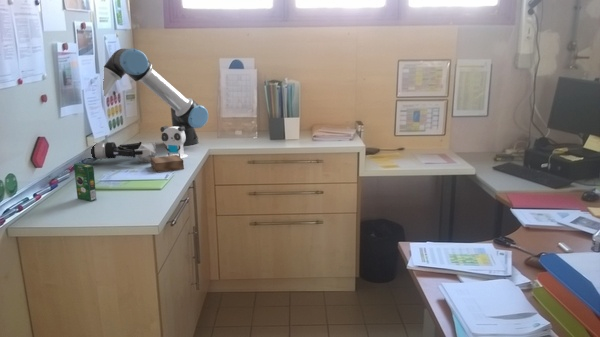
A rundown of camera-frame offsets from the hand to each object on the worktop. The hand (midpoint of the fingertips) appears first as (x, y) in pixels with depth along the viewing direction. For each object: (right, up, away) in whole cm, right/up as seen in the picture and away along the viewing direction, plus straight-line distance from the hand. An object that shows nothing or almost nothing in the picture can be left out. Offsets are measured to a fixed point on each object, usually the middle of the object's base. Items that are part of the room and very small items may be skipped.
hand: (153, 148), depth 253 cm
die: (-3, -6, +1) cm, 7 cm away
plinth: (+10, -9, -11) cm, 17 cm away
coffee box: (-9, -21, -56) cm, 60 cm away
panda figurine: (+8, -4, +10) cm, 13 cm away
